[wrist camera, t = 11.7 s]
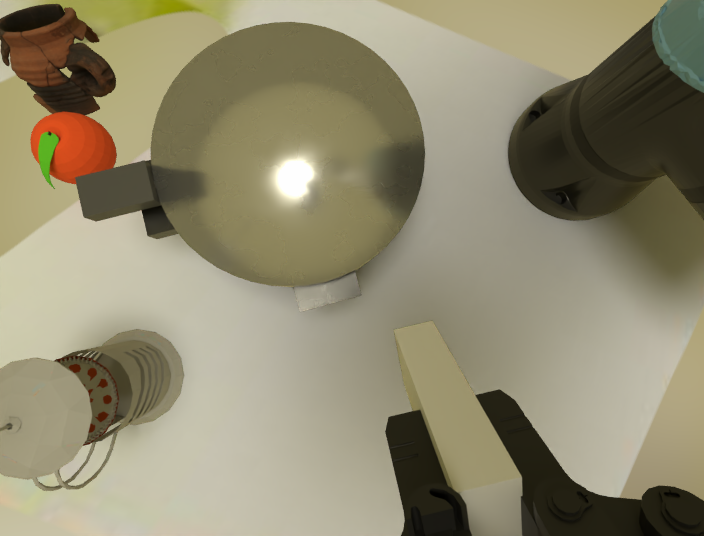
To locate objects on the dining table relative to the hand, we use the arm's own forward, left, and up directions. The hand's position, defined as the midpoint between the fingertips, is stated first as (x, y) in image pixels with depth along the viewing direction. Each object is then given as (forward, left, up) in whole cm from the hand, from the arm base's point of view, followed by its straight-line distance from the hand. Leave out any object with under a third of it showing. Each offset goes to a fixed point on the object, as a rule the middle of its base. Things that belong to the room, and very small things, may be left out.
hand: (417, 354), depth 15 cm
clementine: (+24, -24, -27) cm, 43 cm away
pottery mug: (+23, -34, -27) cm, 49 cm away
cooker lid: (+5, -15, -14) cm, 21 cm away
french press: (+25, 0, -27) cm, 37 cm away
